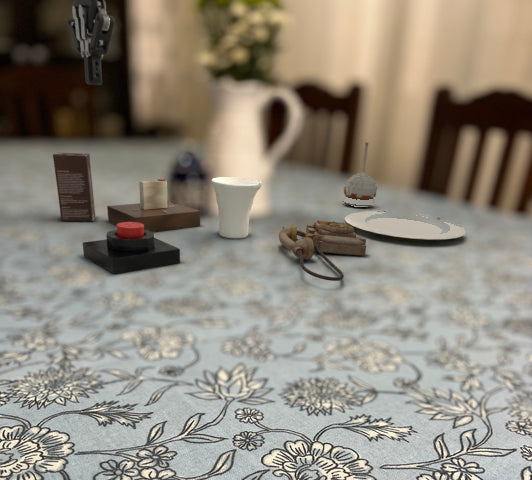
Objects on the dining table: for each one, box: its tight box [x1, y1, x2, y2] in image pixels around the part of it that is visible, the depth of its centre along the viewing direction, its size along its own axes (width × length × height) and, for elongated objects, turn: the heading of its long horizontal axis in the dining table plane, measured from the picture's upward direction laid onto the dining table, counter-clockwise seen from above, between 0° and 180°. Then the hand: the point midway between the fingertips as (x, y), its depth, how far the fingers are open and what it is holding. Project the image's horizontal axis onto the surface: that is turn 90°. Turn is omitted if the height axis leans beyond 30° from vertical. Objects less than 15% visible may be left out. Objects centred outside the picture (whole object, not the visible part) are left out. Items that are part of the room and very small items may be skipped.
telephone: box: [278, 220, 367, 282], centre depth 87 cm, size 15×33×4 cm, turn 5°
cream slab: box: [138, 178, 168, 210], centre depth 98 cm, size 5×2×5 cm, turn 129°
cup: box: [211, 176, 262, 239], centre depth 95 cm, size 9×9×10 cm
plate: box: [344, 210, 467, 243], centre depth 108 cm, size 25×25×2 cm
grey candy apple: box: [342, 141, 378, 207], centre depth 128 cm, size 8×8×15 cm
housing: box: [82, 228, 181, 275], centre depth 79 cm, size 11×10×4 cm
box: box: [52, 152, 96, 222], centre depth 98 cm, size 6×4×12 cm
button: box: [115, 222, 144, 238], centre depth 77 cm, size 4×4×2 cm
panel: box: [106, 200, 201, 233], centre depth 100 cm, size 14×11×3 cm
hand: (94, 84), depth 85 cm, fingers closed
